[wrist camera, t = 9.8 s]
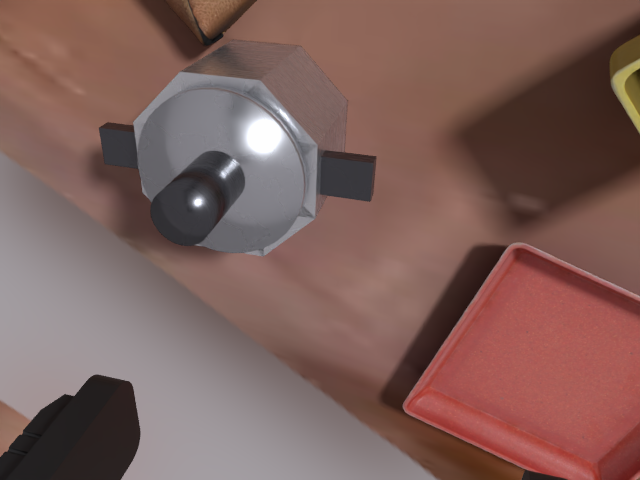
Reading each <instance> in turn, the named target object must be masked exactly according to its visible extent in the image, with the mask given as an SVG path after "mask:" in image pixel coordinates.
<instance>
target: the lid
mask: <svg viewBox="0 0 640 480" xmlns="http://www.w3.org/2000/svg"><path fill="white" fill-rule="evenodd" d="M137 159H138V169H139V174H140V178H141V181H142V184H143V187H144V189H145V191H146V194H147V196H148V198H149V199H150V201H151V203H152V204H151V217H152V220H153V223H154V225H155V226H156V228H157V229H158V231H159V232H160V233H161V234H162V235H163V236H164V237H165V238H167V239H168V240H170V241H172V242H174V243H176V244H179V245H184V246H192V245H196V244H199V245H201V246H204V247H207V248H209V249H212V250H217V251H221V252H229V253H245V252H252V251H256V250H260V249H263V248H265V247H267V246H270V245H271V244H273V243H275V242H276V241H278V240H279V239H280V238H281V237H283V236H284V235H285V234H286V233H287V232H288V230H289V229H290V228H291V227H292V225H293V224H294V222H295V220H296V219H297V217H298V215H299V214H300V212H301V210H302V208H303V205H304V203H305V199H306V195H307V190H308V169H307V163H306V159H305V156H304V153H303V149H302V147H301V145H300V143H299V141H298V139H297V137H296V135H295V134H294V132H293V130H292V129H291V127H290V126H289V125H288V124H287V122H286V121H285V120H284V119H283V118H282V117H281V116H280V115H279V114H278V113H277V112H276V111H275V110H274V109H273V108H272V107H271V106H269V105H268V104H267V103H265V102H264V101H262V100H261V99H259V98H257V97H256V96H254V95H252V94H250V93H247V92H245V91H243V90H240V89H237V88H233V87H229V86H223V85H200V86H195V87H191V88H188V89H185V90H183V91H181V92H179V93H177V94H175V95H174V96H172V97H171V98H169V99H168V100H166V101H165V102H163V103H162V104H161V105H159V106H158V107H157V108H156V109H155V110H154V111H153V112H152V114H151V115H150V116H149V117H148V119H147V121H146V123H145V124H144V126H143V129H142V132H141V134H140V138H139V143H138V152H137Z"/></svg>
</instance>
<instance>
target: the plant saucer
mask: <svg viewBox="0 0 640 480" xmlns="http://www.w3.org/2000/svg"><path fill="white" fill-rule="evenodd" d="M403 409H404V410H405V412H406V413H407V414H409V415H411V416H413V417H415V418H417V419H419V420H421V421H424V422H425V423H427V424H430V425H432V426H434V427H436V428H439V429H441V430H443V431H445V432H447V433H449V434H451V435H454V436H456V437H458V438H460V439H462V440H464V441H466V442H468V443H471V444H473V445H475V446H477V447H479V448H481V449H483V450H485V451H488V452H490V453H492V454H494V455H496V456H498V457H500V458H503V459H505V460H507V461H509V462H511V463H513V464H515V465H517V466H519V467H522V468H524V469H526V470H529V471H533V472H538V473H543V474H547V475H552V476H556V477H561V478H565V479H568V480H636V479H638V478H639V477H640V296H639V295H637V294H635V293H633V292H631V291H628V290H626V289H624V288H622V287H620V286H617V285H615V284H613V283H611V282H609V281H607V280H605V279H602V278H600V277H598V276H596V275H594V274H592V273H589V272H587V271H585V270H583V269H581V268H578V267H576V266H574V265H572V264H570V263H567V262H565V261H563V260H561V259H559V258H556V257H554V256H552V255H550V254H548V253H546V252H543V251H541V250H539V249H537V248H535V247H533V246H531V245H528V244H526V243H523V242H515V243H513V244H511V245H509V246H508V247H507V248H506V250H505V251H504V253H503V254H502V256H501V257H500V259H499V260H498V262H497V263H496V265H495V266H494V268H493V269H492V271H491V272H490V274H489V275H488V277H487V278H486V280H485V281H484V283H483V284H482V286H481V287H480V289H479V290H478V292H477V293H476V295H475V296H474V298H473V299H472V301H471V302H470V304H469V305H468V307H467V308H466V310H465V311H464V313H463V314H462V316H461V318H460V319H459V320H458V322H457V323H456V325H455V326H454V328H453V329H452V331H451V332H450V334H449V335H448V337H447V338H446V340H445V341H444V342H443V344H442V346H441V347H440V349H439V350H438V352H437V353H436V355H435V356H434V358H433V359H432V361H431V362H430V364H429V365H428V367H427V368H426V370H425V371H424V373H423V374H422V376H421V377H420V379H419V380H418V382H417V383H416V384H415V386H414V387H413V389H412V390H411V392H410V393H409V395H408V396H407V398H406V399H405V401H404V403H403Z"/></svg>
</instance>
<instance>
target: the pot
mask: <svg viewBox="0 0 640 480" xmlns="http://www.w3.org/2000/svg"><path fill="white" fill-rule="evenodd" d="M200 85H223V86H229V87H233V88H237V89H240V90H243V91H245V92H247V93H250V94H252V95H254V96H256V97H257V98H259V99H261V100H262V101H264V102H265V103H267V104H268V105H269V106H271V107H272V108H273V109H274V110H275V111H276V112H277V113H278V114H279V115H280V116H281V117H282V118H283V119H284V120H285V121H286V122H287V124H288V125H289V126H290V127H291V129H292V130H293V132H294V134H295V135H296V137H297V139H298V141H299V143H300V145H301V147H302V149H303V153H304V156H305V159H306V163H307V169H308V190H307V195H306V199H305V203H304V205H303V208H302V210H301V212H300V214H299V215H298V217H297V219H296V220H295V222H294V224H293V225H292V227H291V228H290V229H289V230H288V232H287V233H286V234H285V235H284V236H283V237H281V238H280V239H279V240H278V241H276V242H275V243H273V244H271V245H270V246H267V247H265V248H263V249H260V250H256V251H252V252H245V253H246V254H252V255H258V256H265V255H266V254H267V253H269V252H270V251H271V250H273V249H274V248H275V247H277V246H278V245H280V244H281V243H282V242H284V241H285V240H286V239H288V238H289V237H291V236H292V235H293V234H295V233H296V232H297V231H299V230H300V229H301V228H303V227H304V226H306V225H307V224H308V223H310V222H311V221H312V220H314V219H315V218H316V216H317V214H318V213H319V211H320V209H321V207H322V205H323V203H324V201H325V199H326V198H327V196H334V197H341V198H349V199H356V200H363V201H371V199H372V196H373V191H374V179H375V168H376V156H369V155H361V154H353V153H345V136H346V119H347V101H348V100H346V98H345V97H344V96H343V95H342V94H341V93H340V91H339V90H338V89H337V88H336V87H335V85H334V84H333V83H332V82H331V81H330V80H329V78H328V77H327V76H326V75H325V74H324V73H323V71H322V70H321V69H320V68H319V67H318V66H317V64H316V63H315V62H314V61H313V60H312V58H311V57H310V56H309V55H308V54H307V53H306V51H305V50H304V49H303V48H302V47H301V46H295V45H285V44H274V43H264V42H253V41H242V40H232V41H230V42H228V43H227V44H225V45H223V46H222V47H220V48H218V49H217V50H215V51H213V52H212V53H210V54H208V55H207V56H205V57H203V58H202V59H200V60H198V61H197V62H195V63H193V64H192V65H190V66H188V67H187V68H185V69H184V70H182V71H180V72H179V74H178V75H177V76H176V77H175V78H174V79H173V80H172V81H171V82H170V83H169V84H168V85H167V86H166V87H165V89H164V90H163V91H162V92H161V93H160V94H159V95H158V96H157V97H156V98H155V99H154V100H153V101H152V102H151V104H150V105H149V106H148V107H147V108H146V109H145V110H144V111H143V112H142V113H141V114H140V115H139V116H138V117H137V119H136V120H135V121H133V123H134V126H132V125H124V124H116V123H109V122H108V123H106V124H104V125H103V126H101V127H99V131H100V137H101V144H102V150H103V156H104V162H105V164H108V165H115V166H122V167H130V168H137V169H138V159H137V152H138V143H139V138H140V134H141V132H142V129H143V126H144V124H145V123H146V121H147V119H148V117H149V116H150V115H151V114H152V112H153V111H154V110H155V109H156V108H157V107H158V106H159V105H161V104H162V103H163V102H165V101H166V100H168V99H169V98H171V97H172V96H174V95H175V94H177V93H179V92H181V91H183V90H185V89H188V88H191V87H195V86H200ZM141 184H142V181H141ZM142 193H143V194H144V195H145V196H146V197H147V198H148V196H147V194H146V191H145V189H144V187H143V184H142ZM148 199H149V198H148ZM149 200H150V199H149ZM196 245H197V246H201V245H199V244H196Z"/></svg>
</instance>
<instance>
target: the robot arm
mask: <svg viewBox="0 0 640 480" xmlns="http://www.w3.org/2000/svg"><path fill="white" fill-rule="evenodd" d="M139 440H140V426H139V420H138V414H137V408H136V402H135V396H134V390H133V386H132V384H131V383H130V382H129V381H124V380H120V379H115V378H111V377H106V376H101V375H93V376H92V377H90V378H89V379H88V380H87V381H86V383H85V384H84V385H83V386H82V387H81V389H80V390H79V391H78V392H77V394H76V395H75V396H71V395H66V394H64V395H63V396H61V397H60V398H58V399H57V400H55V401H54V402H52V403H51V404H49V405H48V406H46V407H45V408H43V409H42V410H40V412H39V413H38V414H37V415H36V416H35V417H34V419H33V420H32V421H31V422H30V423H29V424H28V426H27V427H26V428H25V429H24V430H23V434H22V435H19V436H18V437H17V438H16V440H15V441H14V442H13V443H12V444H11V445H10V447H9V450H8V451H7V452H4V453H3V455H2V456H1V457H0V480H121V478H122V476H123V475H124V473H125V472H126V470H127V469H128V467H129V465H130V464H131V462H132V461H133V459H134V456H135V454H136V452H137V449H138V446H139ZM522 480H568V479H565V478H561V477H556V476H552V475H547V474H543V473H538V472H533V471H529V470H526V471H525V472H524V474H523V477H522Z"/></svg>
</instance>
